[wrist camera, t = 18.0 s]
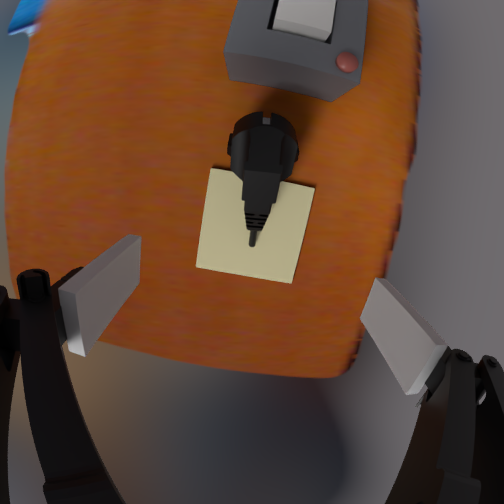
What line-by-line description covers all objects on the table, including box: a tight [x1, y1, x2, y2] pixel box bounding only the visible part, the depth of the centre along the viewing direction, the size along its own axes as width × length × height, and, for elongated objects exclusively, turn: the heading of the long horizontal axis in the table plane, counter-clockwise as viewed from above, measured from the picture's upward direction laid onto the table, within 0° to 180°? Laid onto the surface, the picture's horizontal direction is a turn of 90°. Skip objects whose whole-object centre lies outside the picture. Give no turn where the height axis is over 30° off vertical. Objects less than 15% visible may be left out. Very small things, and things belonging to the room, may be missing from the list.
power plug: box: [227, 112, 299, 247], centre depth 24 cm, size 6×8×12 cm
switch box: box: [223, 0, 368, 102], centre depth 18 cm, size 10×10×8 cm
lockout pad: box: [196, 168, 315, 283], centre depth 27 cm, size 10×10×1 cm
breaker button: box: [272, 0, 336, 42], centre depth 15 cm, size 4×4×4 cm
